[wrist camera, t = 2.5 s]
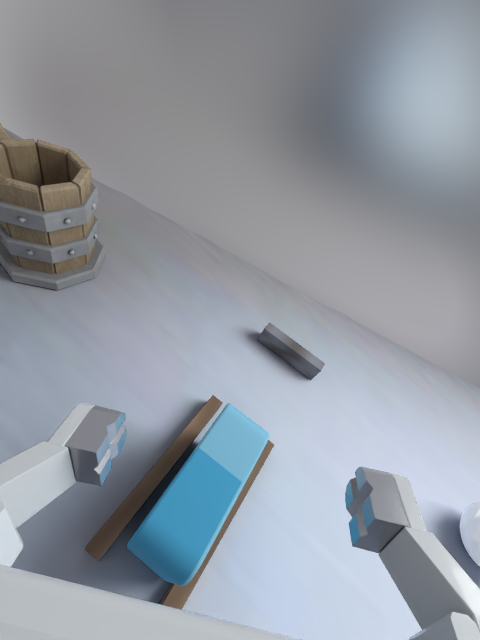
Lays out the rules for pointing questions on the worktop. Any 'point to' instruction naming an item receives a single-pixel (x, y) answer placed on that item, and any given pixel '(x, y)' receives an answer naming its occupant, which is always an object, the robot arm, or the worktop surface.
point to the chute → (153, 478)
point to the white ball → (471, 531)
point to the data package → (199, 498)
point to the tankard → (47, 215)
